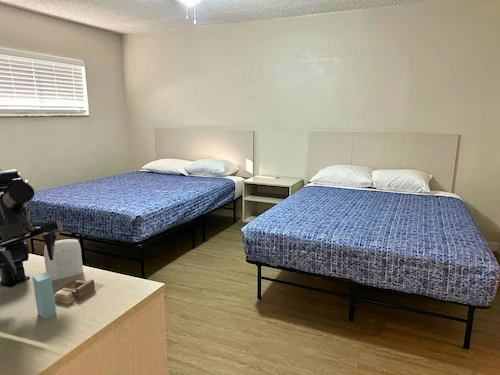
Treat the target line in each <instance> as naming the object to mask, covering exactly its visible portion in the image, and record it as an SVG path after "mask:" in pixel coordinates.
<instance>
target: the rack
mask: <svg viewBox="0 0 500 375" xmlns="http://www.w3.org/2000/svg"><path fill="white" fill-rule="evenodd" d="M104 286H105V284H103V283H98V282H97V283H96V282H95V280H94V279H92V278H91V279H89V280H87V281H86V280H82V279H74V280H73V281H70V282H69V283H66V284H65V285H64V286H62V287H59V288H58V289H56V290H55V291H53V293H54V300H55V303H59V304H62V305H66V306H67V305H68V306H71V307H72V306H76V305H78V303H80V302H81V301H84V300H85V299H86V298H88V297H89V296H90V295H92V294H93V293H95V292H97V291H98V290H100V289H102V287H104Z"/></svg>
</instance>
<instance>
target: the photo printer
mask: <svg viewBox="0 0 500 375" xmlns="http://www.w3.org/2000/svg"><path fill="white" fill-rule="evenodd" d="M43 249H44V250H43V256H44V257H43V258H44V264H45V265H44V266H45V273H47V274H48V275H49V276H51V278H52V281H57V280H60V279H65V278H69V277H70V278H71V277H73V276H77V275H81V274H83V272H84V267H83V259H82V248H81V244H80V241H79V240H78V239H76V238H75V239H74V238H72V239H71V238H70V239H69V238H68V239H67V238H66V239H60V240H55V245H54V256H53V260H52V261H51V260H50V258H49V255H48V251H47V247H46V244H45V245H44V248H43Z"/></svg>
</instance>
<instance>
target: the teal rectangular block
mask: <svg viewBox="0 0 500 375" xmlns="http://www.w3.org/2000/svg"><path fill="white" fill-rule="evenodd" d="M31 278H32V285H33V291H34V296H35V303H36V310H37V314H38V316H39V317H41V318H42V319H43V320H45V319H49V318H51V317H53V316H56V315H57V308H56V302H55V300H54V293H53V292H54V287H53V280H52V278H51V276H49V275H48V274H47V273H46V272H42V273H39V274H36V275H32V277H31Z"/></svg>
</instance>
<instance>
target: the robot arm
mask: <svg viewBox="0 0 500 375" xmlns="http://www.w3.org/2000/svg"><path fill="white" fill-rule="evenodd" d="M0 193H1V194H0V286H1V287H6V288H13V287H15V286H17V285H19V284H22V283H23V282H25V281H27V280H29V279H31V277H30V276H28V275H26V273H25V271H26V270H25V267H24V262H28V261H29V257H30V256H29V255H30V253H29V251H30V250H29V248H30V246H29V245H28V244H27V242H26V241H27V240H30V239H33V238H35V237H38V236H42V239H43V241H44V243H45V245H46V247H47V251H48V255H49V258H50V260H51V261H52V260H53V256H54V245H55V241H57V236H58V235H59V236H60V235H61V234H60V232H61V231H64V227H63V224H62V223H61V221H58V220H56V219H55V220H54V219H53V220H50V221H47V222H44V223H42V224H40V228H36V229H35V228H34V226H33V223H32V220H31V218H32V217H31V214H30V213H29V211H28V209H27V205H28V204H29V203H30V202H31V201H32V200H33V198H34V196H35V190H34V188H33V186H32V185H30V183H29V181H28V180H27V179H26V178H25V177H23V175H22V174H21V173H20V172H19V171H18V170H17V169H16V168H15V169H12V168H11V169H1V168H0Z"/></svg>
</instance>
